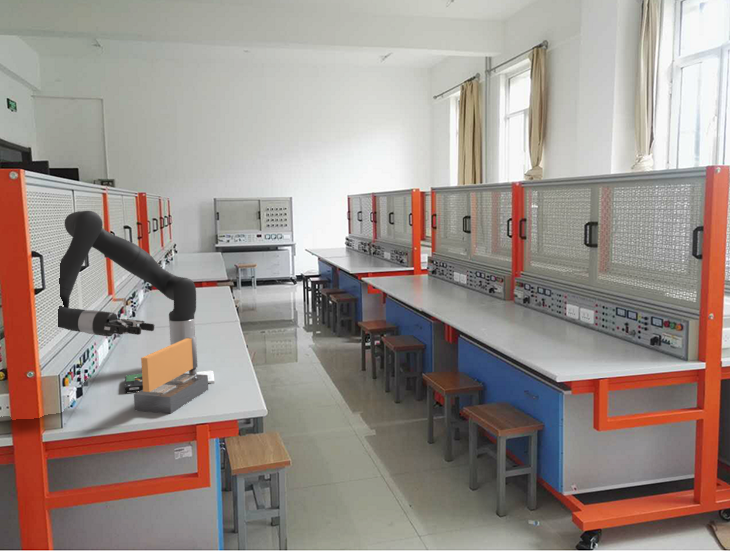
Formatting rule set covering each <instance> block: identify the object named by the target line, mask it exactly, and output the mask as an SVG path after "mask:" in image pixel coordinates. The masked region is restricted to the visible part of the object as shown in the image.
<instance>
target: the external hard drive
mask: <svg viewBox="0 0 730 551" xmlns="http://www.w3.org/2000/svg"><path fill="white" fill-rule="evenodd" d="M196 373H197V374H200V375H208V383H213V384H215V375H214V371H213V370H204V371H196Z"/></svg>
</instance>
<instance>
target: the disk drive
mask: <svg viewBox="0 0 730 551" xmlns="http://www.w3.org/2000/svg"><path fill="white" fill-rule="evenodd" d="M141 390H143V380H142V372H139V373H135V374H134V373H133V374H126V375H125V376H124V394H128V393H127V392H133V393H137V392H136V391H141Z"/></svg>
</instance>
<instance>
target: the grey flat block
mask: <svg viewBox="0 0 730 551" xmlns="http://www.w3.org/2000/svg"><path fill="white" fill-rule="evenodd" d="M206 390H207V391H209V384H208V375H200V374H189V373H184V374H182V375H180V376H178V377H176V378H174V379H173V380H171V381H169V382H167V383H165V384H163V385H161V386H160V387H158V388H156V389H154V390H152V391H150V392H143V390H141V391H139V392H134V394H133V402H134V403H133V404H134V411H135V410H137V411H136V412H147V413H150V412H152V413H161V414H169V415H171V414H172V413H174V412H176V411H177V410H179V409H180V408H182V407H184V406H185V405H187V404H188V403H190V402H192V399H193V400H195V399H196V398H198V397H199V396H201V395H203V394H204V393H205V391H206ZM207 391H206V392H207ZM203 392H204V393H203ZM200 394H201V395H200ZM197 396H198V397H197ZM195 397H196V398H195ZM194 398H195V399H194ZM189 401H190V402H189ZM187 402H188V403H187ZM186 403H187V404H186ZM184 404H185V405H184ZM183 405H184V406H183ZM181 406H182V407H181ZM178 408H179V409H178Z"/></svg>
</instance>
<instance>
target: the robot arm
mask: <svg viewBox="0 0 730 551" xmlns="http://www.w3.org/2000/svg"><path fill="white" fill-rule="evenodd" d="M103 226H104V225H103V220H102V217H101V216H100V215H99V214H98V213H96V212H95V211H92V210H82V211H81V210H80V211H75V212H72V213H69V214H68V215H67V216H66V217H65V220H64V229H65V231H66V232H67V233H68V235H70V237H72V238H71V242H70V245H69V246H68V248H67V250H66V252H65V253H64V254H63V257H62V258H61V259H60V261H61V263H60V278H59V284H60V297H61V299H62V301H63V305H64V307H62V306H59V309H58V327H59V329H60V328H61V329H64V330H68V331H72V332H79V333H84V334H87V335H94V336H95V335H97V336H103V337H112V336H114V334H115V335H120V336H121V335H127V334H130V335H138V336H139V335H142V331H147V332H148V331H149V332H153V331H154V330H155V324H154V323H148V322H145V321H144V320H137V319H129V318H120V319H119V318H118V315H117V314H116V313H115V312H112V311H111V312H110V311H103V310H94V309H81V308H71V307H70V297H71V294H72V292H73V289H74V287H75V284H76V281H77V279H78V276H79V274H80V272H81V269H82V267H83V265H84V263H85V261H86V258H87V256H88V255H89V253H90V250H91V249H92V248H94V249H95V250H97V251H98V252H100V253H101V254H103V256H105V257H106V258H108V259H109V260H111V261H112V262H114V263H116V265H118V266H120V267H121V268H123V269H124V270H125V271H127V272H129V273H130V274H132V275H134V276H136V278H138V279H140V280H142V281H145V282H147V283H148V284H149V285H151V286H153V287H154V288H155V289H157V291H158V292H160V293H161V294H162V295H164V296H165V297H166V298H167V299H169V300H171V301H173V309H172V310H170V312H169V314H168V323H169V326H168V328H169V338H170V339H169V340H170V342H169V343H170V344H169V346H170V345H172V344H174V343H177V342H179V341H181V340H184V339H186V337H196V338H197V335H196V326H195V325H196V323H195V322H196V321H195V314H196V311H197V289H196V288H197V287H196V285H195V283H194V281H193V280H192V279H190V278H187V277H182V276H177V275H175V274H172V273H171V272H169V271H167V270H166V269H164V268H163V267H161V266H160V265H159V263H158V262H157V261H156V259H154V258H153V256H152V255H151V254H150V253H148V251H146V250H145V249H143V248H142V247H140V246H139V245H137V244H135V243H133V242H131V241H129V240H127V239H125V238H123V237H120V236H117V235H115V234H113V233H111V232H109V231H108V230H106V229H104V228H103ZM138 324H139V325H138ZM197 345H198V344H196V347H197Z"/></svg>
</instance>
